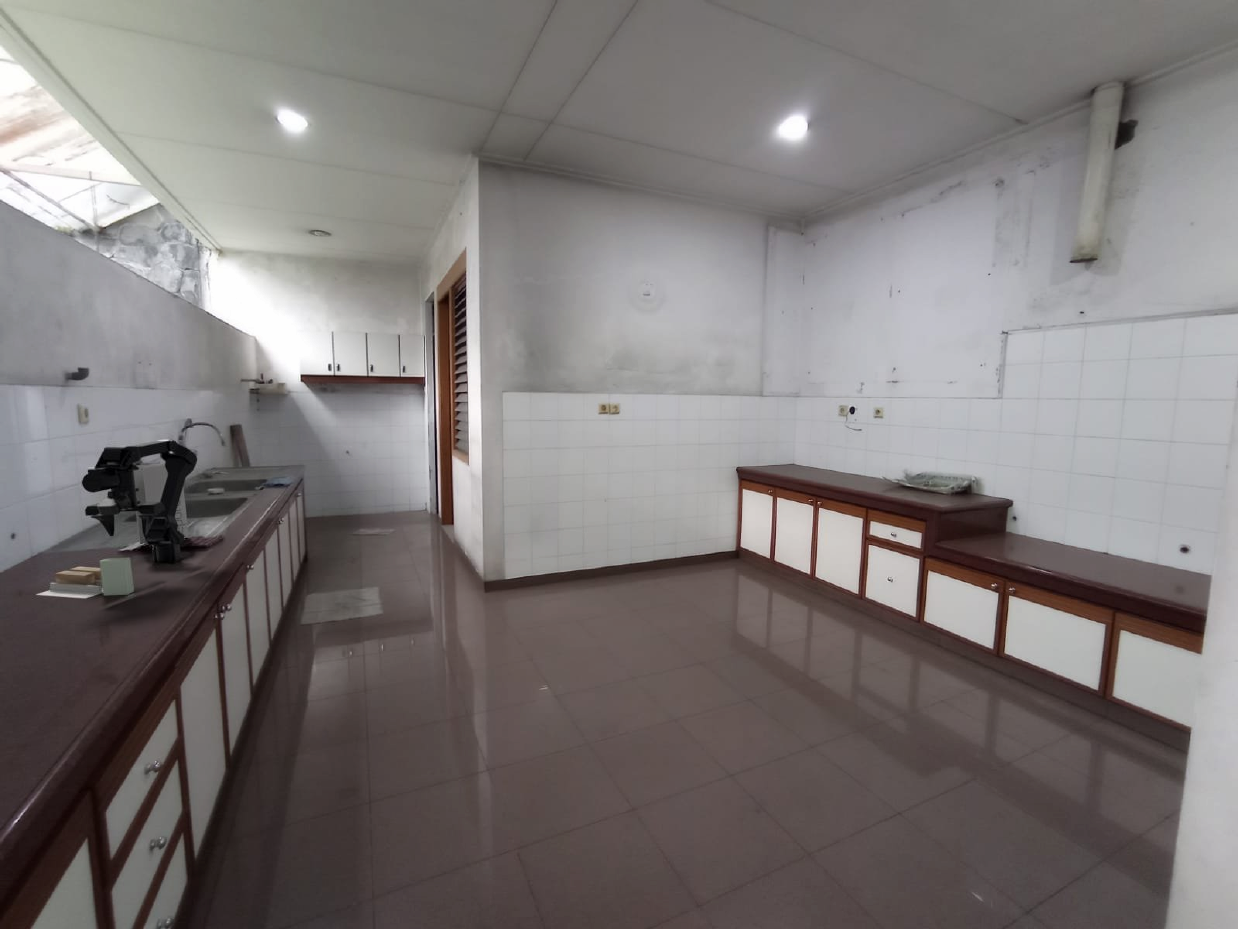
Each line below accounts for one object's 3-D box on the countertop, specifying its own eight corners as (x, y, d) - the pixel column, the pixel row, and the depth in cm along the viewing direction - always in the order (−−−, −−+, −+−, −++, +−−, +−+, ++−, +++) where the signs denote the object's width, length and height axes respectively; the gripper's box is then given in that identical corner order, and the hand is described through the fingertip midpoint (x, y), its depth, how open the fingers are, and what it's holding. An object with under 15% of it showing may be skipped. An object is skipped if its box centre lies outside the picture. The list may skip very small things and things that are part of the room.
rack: (85, 582, 169) (83, 573, 169) (131, 585, 167) (130, 576, 166) (36, 598, 157) (34, 587, 156) (85, 601, 154) (84, 591, 154)
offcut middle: (66, 585, 164) (64, 570, 163) (95, 587, 162) (93, 572, 162) (57, 588, 161) (55, 573, 161) (86, 590, 160) (84, 575, 159)
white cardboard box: (151, 548, 204) (142, 467, 200) (139, 547, 205) (130, 467, 201) (188, 538, 218) (181, 462, 214) (177, 537, 219) (169, 462, 215)
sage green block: (110, 595, 159) (105, 558, 158) (134, 594, 160) (130, 557, 159) (104, 599, 157) (99, 561, 155) (128, 597, 158) (124, 560, 156)
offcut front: (80, 581, 168) (78, 566, 167) (109, 583, 166) (107, 568, 165) (71, 583, 165) (69, 569, 164) (100, 586, 164) (98, 571, 163)
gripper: (67, 492, 162) (74, 543, 164) (139, 490, 165) (145, 541, 167) (95, 485, 173) (101, 534, 175) (163, 484, 176) (168, 532, 178)
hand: (128, 535), depth 174 cm, fingers open, 9 cm apart
